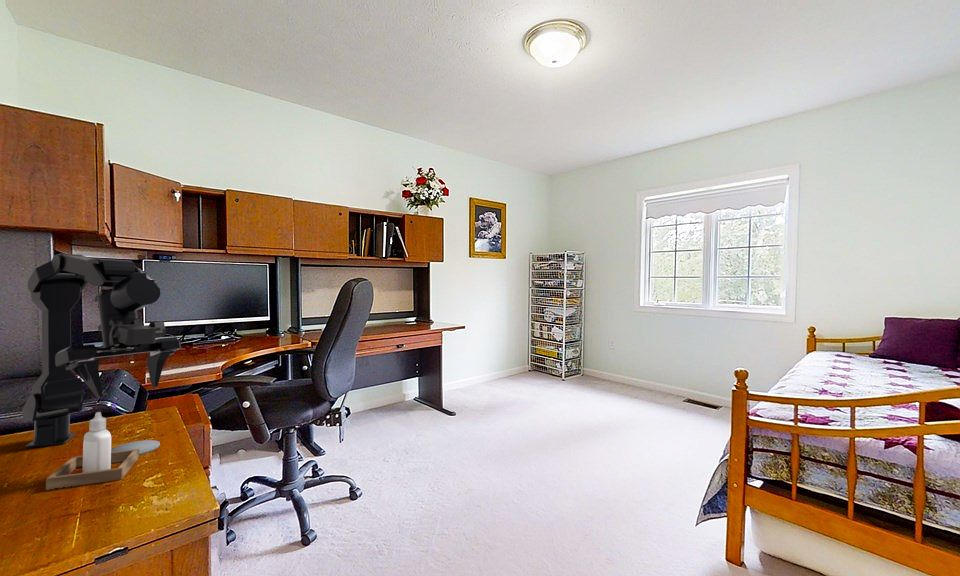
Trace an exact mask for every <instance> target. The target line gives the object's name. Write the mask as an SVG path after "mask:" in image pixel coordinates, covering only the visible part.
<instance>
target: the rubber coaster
mask: <svg viewBox="0 0 960 576" xmlns="http://www.w3.org/2000/svg"><path fill="white" fill-rule="evenodd" d="M160 445H161V443H160V441H158V440H156V439H155V440H153V439H149V440H148V439H144V440H136V441H131V442H126V443H123V444H120V445H117V446H114V447H113V448H112V447H111V452H117V451H125V450H134V449H139V456H141V455H144V454H148V453H150V452H153V451H155V450H157V449H158V448H159V447H160Z"/></svg>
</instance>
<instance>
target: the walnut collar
mask: <svg viewBox="0 0 960 576" xmlns="http://www.w3.org/2000/svg"><path fill="white" fill-rule="evenodd" d="M139 458H140V455H139V449H134V450H125V451H117V452H111V464H113V463H114V464H115V463H120V462H122V463H121V464H119V466H118V467H116V468H111V469H106V470H99V471H92V472H84V473H83V472H76V473H72V472H73V471H74V470H75V469H77V468H83V455H77V456H76V455H75V456H72V457H71V458H70V459H69V460H68V461H66V462H65V463H64V464H63V465H61V466H60V467H59V468H58V469H56V470H55V471H54V472H53V473H51V475H49V476H48V477H47V478H45V490H46V491H49V490H50V489H51V490H56V489H55V488H58V489H63V487H65V488H69V487H70V488H71V486H72V487H78V485H79V486H83V485H92V484H98V483H99V484H100V483H106V482H111V481H118V480H122V479H123V478H124V477H126V475H127V473H128V472H129V471H130V470H131V468H133V467H134V465H135V463H136V462H137V461H138V460H139ZM51 490H50V491H51Z"/></svg>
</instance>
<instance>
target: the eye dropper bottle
mask: <svg viewBox="0 0 960 576" xmlns="http://www.w3.org/2000/svg"><path fill="white" fill-rule="evenodd" d="M88 428H89V431H87V432H86V433H84V435H83V444H82V456H83V467H82V473H84V472H92V471H99V470H106V469H112V468H111V467H112V466H111V465H112V463H111V449H112V434H111V432H110V430H108V429H107V418H106V417H104V416H102V412H101V411H97V412H95V415H94V417H93V418H92V419H90V420H89V427H88Z"/></svg>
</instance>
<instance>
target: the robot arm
mask: <svg viewBox="0 0 960 576" xmlns="http://www.w3.org/2000/svg"><path fill="white" fill-rule="evenodd" d="M61 272H64V273H61ZM66 272H67V273H66ZM87 284H90V285H91V286H93V287H99V288H101V287H103V289H100V291H99V293H98V294H97V295H95V297H94V299H93V300H94V302H96V303H97V305H98V314H99V319H100V320H99V323H100V325H98V326H97V330H98V332H101V337H102V345H100V346H99V348H97V347H96V345H95V344H83V345H81V344H80V345H72V313H71V312H72V309H73V308H74V307H75V306H76V304H77V303H78V302H79V300H80V299H81V292H82V291H83V290H84V289H85V287H86V286H87ZM104 287H107V288H108V287H109V289H107V288H105V289H104ZM27 289H28V292H29V293H30V298H31V301H32V302H33V303H34V304H35V306H36V307H37V308H39V310H40V311H41V341H42V342H41V346H42V347H41V348H42V351H41V354H42V355H41V357H42V358H41V360H42V361H41V362H42V363H41V365H42V367H41V368H42V369H41V370H42V371H41V372H42V373H41V374H40V376H39V377H38V379H36V381H35V382H34V383H33V385H32V387H31V394H30V395H29V397H28V398H27V400H26V401H25V404H24V406H23V407H22V409H21V412H22V418H23V420H26V421H29V422H34V426H33V427H34V428H33V429H34V431H33V441H31V442H29V443H28V444H25V448H26V449H28V448H29V449H30V448H36V447H45V446H46V447H47V446H56V445H63V444H65V443H67V442H69V441H70V440H71V439H73V438H74V437H75V436H76V435H77V432H72V433H71V432H70V429H71V428H70V427H71V420H70V419H71V414H73V413H75V414H76V413H81V412H82V409H83V404H84V400H85V397H86V391H85V390H84V388H83V382H84V383H85V385H86V386H87V387H88V389H90V391H91V392H92V393H93V395H94V396H95V397H96V398H97V399H102V398H103V395H104V394H103V386H102V381H101V375H100V371H99V367H100V366H99V365H100V362H101V360H100V358H107V357H108V358H109V357H117V356H126V355H127V356H128V355H134V354H135V355H136V354H145V353H146V354H148V355H149V356H148V357H146V359H145V360H146V366H147V371H148V376H149V381H150V384H151V387H152V388H153V389H155V388H158V386H159V384H160V383H159V382H160V379H161V376H162V371H163V369H164V365H165V363H166V362H167V360H168V358H169V356H171V355H174V354H175V353H176V351H178V350H181V349H182V344H181V341H180V340H179V339H178V338H177V336H174V337H173V336H172V337H165V335H166V326H165V321H162V320H158V321H157V320H155V321H152V320H151V321H150V322H149V325H144V324H143V320H142V318H141V317H138V312H137V311H138V310H141V309H143V308H146V307H148V306H149V305H152V304H154V303H156V302H157V301H158V300H159V299H160V297H161V289H160V287H159V286H158V284H157V283H156V282H155V281H153V280H152V279H150V278H148V276H147V273H146V272H141V270H140V269H139V267H138V266H137V265H136V263H135V262H134V261H132V260H129V259H128V260H127V259H113V258H111V259H110V258H96V257H95V258H93V257H89V256H85V255H83V254H77V253H76V254H74V253H59V254H58V253H57V254H54V256H52V259H51V260H50V261H48V262H46V263H44V264H42V265H39V266H37V267H35V269H33V272H32V273H31V275H30V277H29V278H28V281H27Z"/></svg>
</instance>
